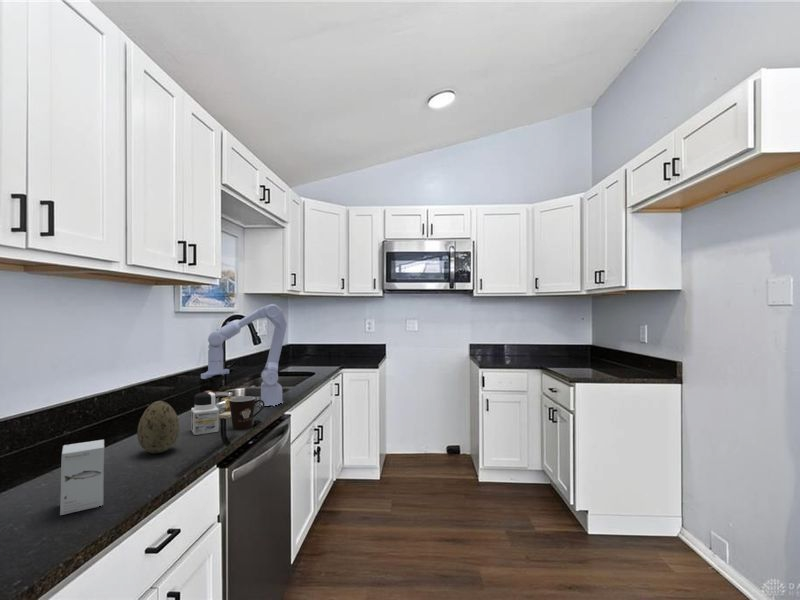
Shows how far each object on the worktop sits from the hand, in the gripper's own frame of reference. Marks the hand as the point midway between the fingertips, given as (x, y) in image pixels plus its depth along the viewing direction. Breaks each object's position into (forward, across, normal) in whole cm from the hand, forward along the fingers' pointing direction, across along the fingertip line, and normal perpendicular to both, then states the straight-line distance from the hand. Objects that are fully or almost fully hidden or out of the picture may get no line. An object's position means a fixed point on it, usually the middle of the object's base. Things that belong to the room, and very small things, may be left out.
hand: (215, 393), depth 175 cm
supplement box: (+7, +79, +33) cm, 86 cm away
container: (+7, +26, +18) cm, 32 cm away
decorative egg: (+7, +48, +21) cm, 53 cm away
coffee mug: (+7, +18, +29) cm, 34 cm away
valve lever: (0, +2, +3) cm, 4 cm away
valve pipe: (+6, +2, +9) cm, 11 cm away
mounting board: (+7, +2, +8) cm, 10 cm away
